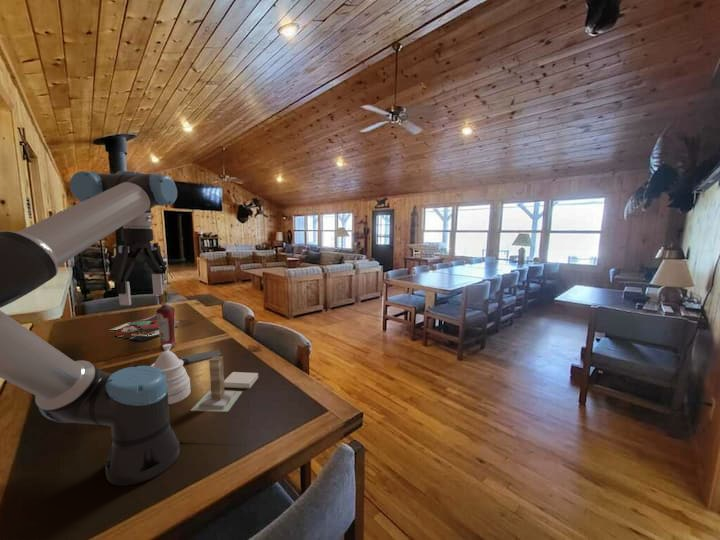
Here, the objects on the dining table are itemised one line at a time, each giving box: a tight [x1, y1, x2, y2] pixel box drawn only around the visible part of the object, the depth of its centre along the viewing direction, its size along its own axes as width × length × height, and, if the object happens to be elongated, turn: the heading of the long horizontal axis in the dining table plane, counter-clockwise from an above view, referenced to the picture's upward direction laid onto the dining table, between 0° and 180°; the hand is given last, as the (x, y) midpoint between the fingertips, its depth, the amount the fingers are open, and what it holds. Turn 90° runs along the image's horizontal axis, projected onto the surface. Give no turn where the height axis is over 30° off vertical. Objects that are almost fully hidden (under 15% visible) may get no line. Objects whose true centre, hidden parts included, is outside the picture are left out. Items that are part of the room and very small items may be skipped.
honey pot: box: [150, 344, 191, 405], centre depth 105 cm, size 13×13×18 cm
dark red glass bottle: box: [155, 289, 177, 350], centre depth 146 cm, size 7×7×28 cm
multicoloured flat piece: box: [109, 314, 188, 343], centre depth 176 cm, size 35×35×2 cm
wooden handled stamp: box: [199, 355, 236, 409], centre depth 102 cm, size 9×8×15 cm
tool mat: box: [189, 390, 243, 413], centre depth 104 cm, size 12×12×1 cm
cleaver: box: [179, 349, 223, 367], centre depth 134 cm, size 29×10×2 cm, turn 132°
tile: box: [224, 371, 259, 389], centre depth 116 cm, size 3×10×8 cm
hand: (143, 299), depth 92 cm, fingers open, 13 cm apart
